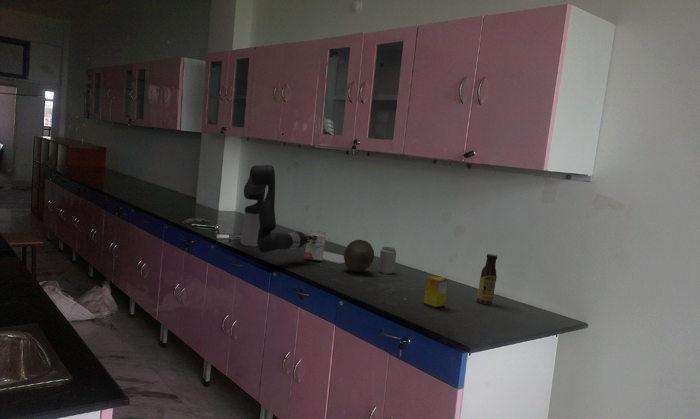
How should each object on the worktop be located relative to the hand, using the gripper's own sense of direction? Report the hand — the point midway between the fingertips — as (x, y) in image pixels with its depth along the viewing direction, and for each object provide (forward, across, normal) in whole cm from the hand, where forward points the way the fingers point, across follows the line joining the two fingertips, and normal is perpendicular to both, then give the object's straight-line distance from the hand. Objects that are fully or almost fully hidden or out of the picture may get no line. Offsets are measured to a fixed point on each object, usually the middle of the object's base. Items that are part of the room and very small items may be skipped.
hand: (315, 237), depth 261 cm
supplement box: (-23, -74, +12) cm, 78 cm away
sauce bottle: (0, -86, +12) cm, 87 cm away
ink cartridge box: (0, 0, +11) cm, 11 cm away
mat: (+16, 0, +12) cm, 20 cm away
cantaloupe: (-1, -26, +12) cm, 29 cm away
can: (+12, -34, +12) cm, 38 cm away
